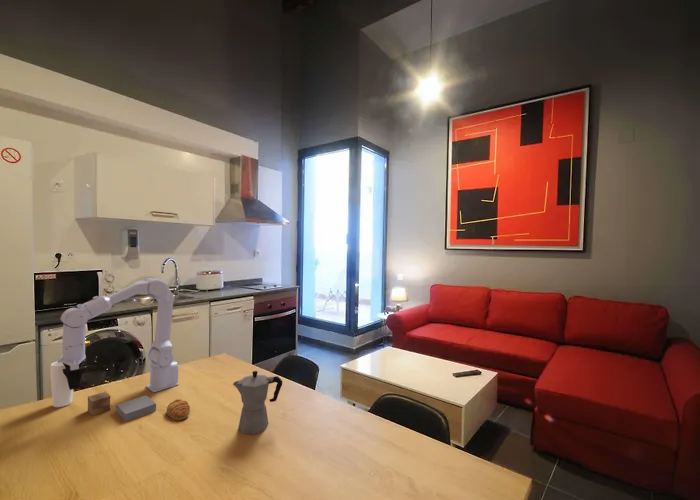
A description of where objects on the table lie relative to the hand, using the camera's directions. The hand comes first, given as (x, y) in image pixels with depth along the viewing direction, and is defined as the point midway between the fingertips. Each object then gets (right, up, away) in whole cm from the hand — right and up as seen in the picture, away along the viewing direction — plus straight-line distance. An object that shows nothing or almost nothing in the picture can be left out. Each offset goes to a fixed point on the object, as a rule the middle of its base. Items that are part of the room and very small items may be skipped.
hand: (73, 384), depth 106 cm
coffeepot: (+62, -12, -3) cm, 64 cm away
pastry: (+34, -11, +3) cm, 36 cm away
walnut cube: (+6, -10, +3) cm, 12 cm away
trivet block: (+19, -11, +3) cm, 22 cm away
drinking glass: (-9, -10, +6) cm, 15 cm away
